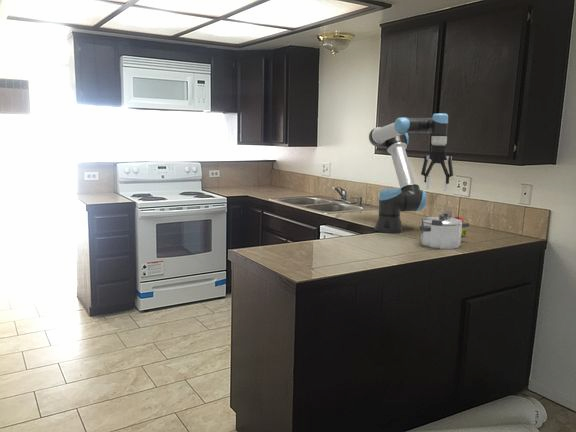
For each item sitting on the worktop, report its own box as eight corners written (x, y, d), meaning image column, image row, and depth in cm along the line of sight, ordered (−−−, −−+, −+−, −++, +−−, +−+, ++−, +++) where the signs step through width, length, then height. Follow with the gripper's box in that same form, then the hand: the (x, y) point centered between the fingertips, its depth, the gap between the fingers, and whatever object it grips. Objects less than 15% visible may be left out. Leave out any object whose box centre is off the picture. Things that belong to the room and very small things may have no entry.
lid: (457, 227, 227) (457, 220, 226) (416, 224, 235) (416, 216, 235) (468, 218, 254) (468, 211, 254) (430, 214, 263) (431, 208, 262)
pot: (408, 243, 246) (410, 221, 244) (452, 238, 259) (454, 217, 257) (434, 250, 230) (436, 227, 229) (480, 245, 243) (481, 222, 242)
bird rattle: (449, 240, 264) (465, 235, 258) (443, 220, 265) (458, 215, 259) (454, 238, 269) (470, 234, 263) (447, 219, 270) (463, 214, 264)
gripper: (415, 144, 253) (413, 188, 257) (458, 145, 242) (455, 191, 246) (420, 144, 259) (418, 187, 263) (462, 145, 248) (459, 190, 252)
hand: (436, 189), depth 254 cm, fingers open, 8 cm apart
